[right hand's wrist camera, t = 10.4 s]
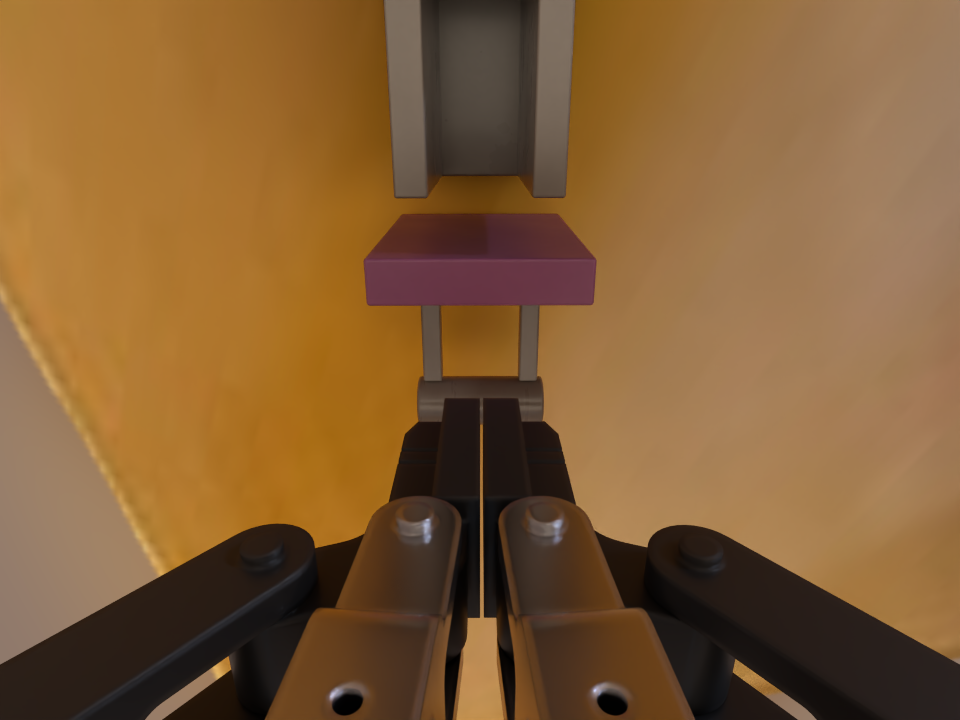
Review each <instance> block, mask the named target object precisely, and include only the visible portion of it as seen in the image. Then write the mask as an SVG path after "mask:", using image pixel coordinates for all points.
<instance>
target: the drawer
mask: <svg viewBox="0 0 960 720" xmlns="http://www.w3.org/2000/svg"><path fill="white" fill-rule="evenodd" d="M384 15H385V34H386V52H387V71H388V90H389V108H390V127H391V146H392V164H393V183H394V197H395V198H427V197H428V195H429V194H430V193H431V191H432V190H433V188H434V187H435V185H436V184H437V183H438V181H439V180H440V178H441V177H442V176H518V177H519V178H520V179H521V181H522V182H523V184H524V185H525V186H526V188H527V189H528V191H529V192H530V194H531V195H532V196H533V197H534V198H564V197H565V195H566V179H567V159H568V138H569V118H570V98H571V77H572V57H573V36H574V16H575V0H384ZM364 272H365V285H366V298H367V304H368V305H370V306H421V321H422V346H423V371H424V376H422V377H420V378H419V381H418V391H417V412H418V420H419V422H442V415H443V407H444V400H445V398H480V425H483V398H518V399H519V406H520V413H521V420H522V421H542V420H543V411H544V393H543V382H542V379H541V377H540V376H537V364H538V336H539V308H540V305H592V304H593V302H594V289H595V275H596V258H595V257H594V256H593V255H592V254H591V253H590V251H589V250H588V249H587V248H586V247H585V245H584V244H583V243H582V242H581V241H580V240H579V238H578V237H577V236H576V235H575V234H574V233H573V231H572V230H571V229H570V228H569V227H568V225H567V224H566V223H565V222H564V221H563V220H562V218H561V217H560V216H559V215H558V214H403V215H401V217H400V218H399V219H398V220H397V221H396V222H395V224H394V225H393V226H392V227H391V228H390V230H389V231H388V232H387V233H386V234H385V236H384V237H383V238H382V239H381V240H380V241H379V243H378V244H377V245H376V246H375V247H374V249H373V250H372V251H371V252H370V253H369V254H368V256H367V257H366V258H365V259H364ZM441 305H519V342H518V376H443V355H442V319H441Z"/></svg>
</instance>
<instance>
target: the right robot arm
mask: <svg viewBox="0 0 960 720" xmlns="http://www.w3.org/2000/svg"><path fill="white" fill-rule="evenodd" d="M483 559H484V618H497V668H498V676H499V684H500V693H501V701H502V709H503V717H504V720H797V719H796V718H795V717H793V716H792V715H790V714H789V713H788V712H786V711H785V710H784V709H782V708H781V707H779V706H778V705H777V704H775V703H774V702H773V701H771V700H770V699H768V698H767V697H766V696H764V695H763V694H762V693H760V692H759V691H757V690H756V689H755V688H753V687H752V686H751V685H749V684H748V683H746V682H745V681H744V680H742V679H741V678H740V677H738V676H737V675H735V674H734V673H733V668H734V663H735V659H737V660H738V661H740V662H741V663H742V664H744V665H745V666H747V667H748V668H749V669H751V670H752V671H754V672H755V673H757V674H758V675H759V676H761V677H762V678H764V679H765V680H766V681H768V682H769V683H771V684H772V685H774V686H775V687H776V688H778V689H779V690H781V691H782V692H784V693H785V694H786V695H788V696H789V697H791V698H792V699H793V700H795V701H796V702H798V703H799V704H801V705H802V706H803V707H804V708H806V709H807V710H808V711H809V712H810V713H811V714H812V715H813V716H814V717H815V718H816V719H817V720H960V664H958V663H956V662H954V661H952V660H950V659H949V658H947V657H945V656H943V655H941V654H940V653H938V652H936V651H934V650H932V649H930V648H929V647H927V646H925V645H923V644H921V643H920V642H918V641H916V640H914V639H912V638H910V637H909V636H907V635H905V634H903V633H901V632H900V631H898V630H896V629H894V628H892V627H891V626H889V625H887V624H885V623H883V622H881V621H880V620H878V619H876V618H874V617H872V616H871V615H869V614H867V613H865V612H863V611H861V610H860V609H858V608H856V607H854V606H852V605H851V604H849V603H847V602H845V601H843V600H841V599H840V598H838V597H836V596H834V595H832V594H831V593H829V592H827V591H825V590H823V589H821V588H820V587H818V586H816V585H814V584H812V583H811V582H809V581H807V580H805V579H803V578H802V577H800V576H798V575H796V574H794V573H792V572H791V571H789V570H787V569H785V568H783V567H782V566H780V565H778V564H776V563H774V562H772V561H771V560H769V559H767V558H765V557H763V556H762V555H760V554H758V553H756V552H754V551H752V550H751V549H749V548H747V547H745V546H743V545H742V544H740V543H738V542H736V541H734V540H732V539H731V538H729V537H727V536H725V535H723V534H721V533H719V532H716V531H713V530H711V529H707V528H704V527H699V526H692V525H676V526H669V527H666V528H663V529H661V530H659V531H657V532H656V533H655V534H654V535H653V536H652V537H651V538H650V540H649V543H648V548H647V547H642V546H638V545H633V544H629V543H624V542H620V541H617V540H613V539H611V538H608V537H606V536H604V535H602V534H600V533H598V532H596V531H595V530H594V529H593V526H592V524H591V521H590V519H589V517H588V516H587V514H586V513H585V512H584V511H583V510H582V509H581V508H579V507H578V506H576V503H575V499H574V495H573V491H572V487H571V483H570V479H569V475H568V471H567V467H566V464H565V459H564V455H563V451H562V447H561V443H560V439H559V435H558V433H557V432H555V431H554V430H553V429H552V428H551V427H550V426H549V425H548V424H547V423H546V422H545V421H522V420H521V413H520V406H519V399H518V398H483ZM468 618H480V398H445V400H444V407H443V415H442V422H418V423H416V424H415V425H414V426H413V427H412V428H411V429H410V430H409V431H408V432H407V433H406V434H405V437H404V441H403V445H402V452H401V453H400V457H399V464H398V466H397V470H396V474H395V478H394V482H393V486H392V490H391V495H390V499H389V503H387V504H385V505H384V506H382V507H381V508H379V509H378V510H377V511H376V512H375V513H374V514H373V516H372V517H371V519H370V521H369V524H368V526H367V529H366V531H365V534H363V535H361V536H359V537H357V538H354V539H351V540H349V541H345V542H341V543H337V544H332V545H328V546H323V547H319V548H315V545H314V541H313V538H312V537H311V535H310V534H309V533H308V532H307V531H305V530H304V529H302V528H300V527H297V526H294V525H288V524H268V525H262V526H258V527H254V528H251V529H248V530H245V531H243V532H241V533H239V534H237V535H235V536H233V537H231V538H229V539H228V540H226V541H224V542H222V543H220V544H218V545H217V546H215V547H213V548H211V549H209V550H208V551H206V552H204V553H202V554H200V555H198V556H197V557H195V558H193V559H191V560H189V561H188V562H186V563H184V564H182V565H180V566H178V567H177V568H175V569H173V570H171V571H169V572H168V573H166V574H164V575H162V576H160V577H159V578H157V579H155V580H153V581H151V582H149V583H148V584H146V585H144V586H142V587H140V588H139V589H137V590H135V591H133V592H131V593H129V594H128V595H126V596H124V597H122V598H120V599H119V600H117V601H115V602H113V603H111V604H110V605H108V606H106V607H104V608H102V609H100V610H99V611H97V612H95V613H93V614H91V615H90V616H88V617H86V618H84V619H82V620H81V621H79V622H77V623H75V624H73V625H71V626H70V627H68V628H66V629H64V630H62V631H60V632H59V633H57V634H55V635H53V636H51V637H50V638H48V639H46V640H44V641H42V642H41V643H39V644H37V645H35V646H33V647H31V648H30V649H28V650H26V651H24V652H22V653H21V654H19V655H17V656H15V657H13V658H11V659H10V660H8V661H6V662H4V663H2V664H1V665H0V720H145V719H146V718H147V716H148V715H149V714H150V713H151V712H152V711H153V710H154V709H155V708H156V707H157V706H159V705H160V704H161V703H162V702H164V701H165V700H167V699H168V698H169V697H171V696H172V695H174V694H175V693H177V692H178V691H179V690H181V689H182V688H184V687H185V686H186V685H188V684H189V683H191V682H192V681H194V680H195V679H196V678H198V677H199V676H201V675H202V674H203V673H205V672H206V671H208V670H209V669H211V668H212V667H213V666H215V665H216V664H218V663H219V662H220V661H222V660H223V659H225V658H226V657H228V656H229V660H230V665H231V669H232V670H230V671H229V672H227V673H226V674H225V675H223V676H222V677H220V678H219V679H218V680H216V681H215V682H214V683H212V684H211V685H209V686H208V687H207V688H205V689H204V690H203V691H201V692H200V693H198V694H197V695H196V696H194V697H193V698H192V699H190V700H189V701H188V702H186V703H185V704H183V705H182V706H181V707H179V708H178V709H177V710H175V711H174V712H172V713H171V714H170V715H168V716H167V717H165V718H164V719H163V720H456V717H457V709H458V701H459V693H460V684H461V676H462V668H463V647H464V645H465V642H466V639H467V621H468Z"/></svg>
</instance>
